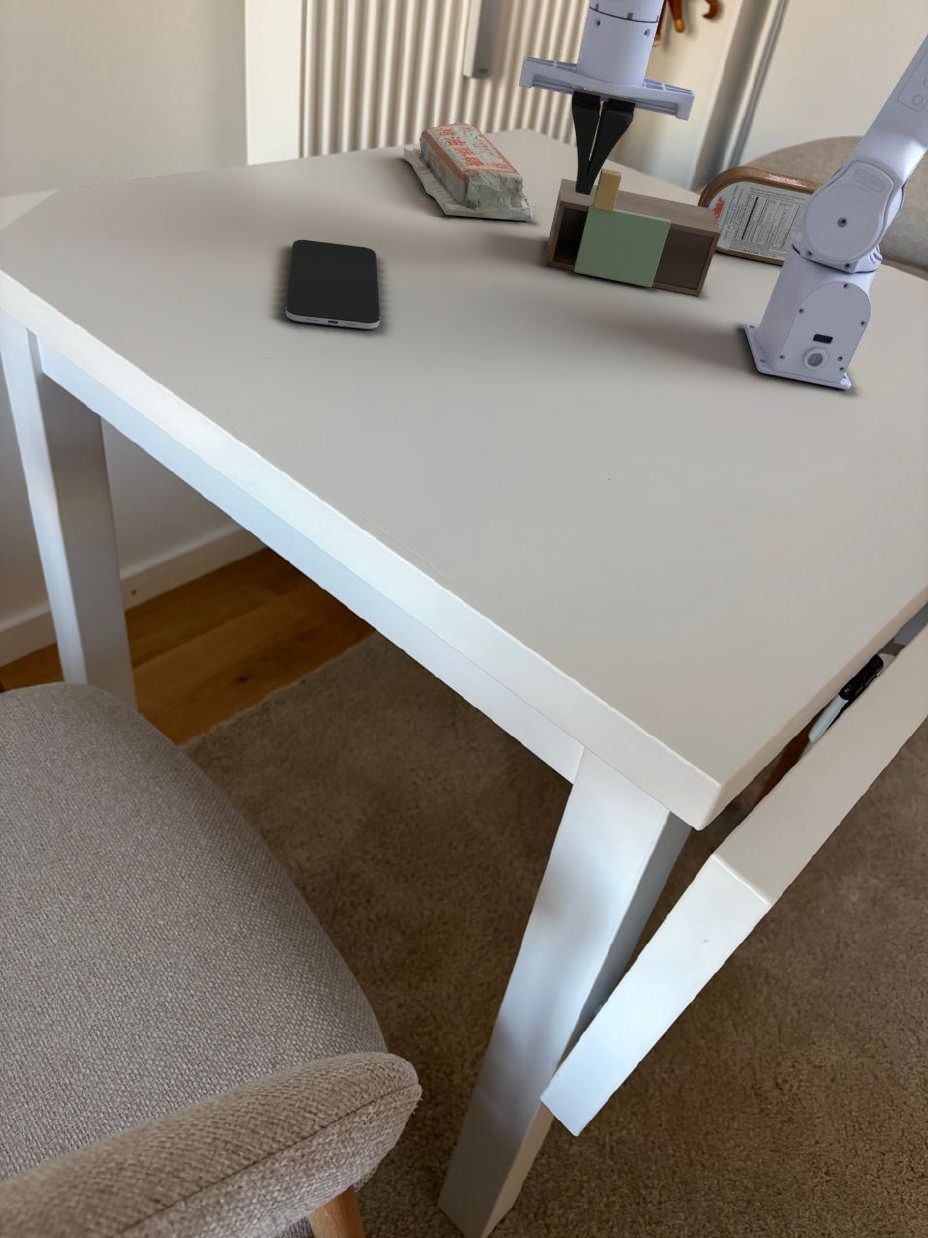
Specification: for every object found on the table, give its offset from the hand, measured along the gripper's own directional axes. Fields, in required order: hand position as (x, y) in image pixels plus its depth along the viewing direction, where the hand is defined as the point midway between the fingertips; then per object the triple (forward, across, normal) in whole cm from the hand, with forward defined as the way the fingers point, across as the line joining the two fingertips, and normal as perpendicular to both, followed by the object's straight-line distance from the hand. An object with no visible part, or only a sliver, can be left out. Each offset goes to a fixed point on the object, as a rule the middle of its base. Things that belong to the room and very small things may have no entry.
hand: (582, 190), depth 83 cm
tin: (+8, -21, -15) cm, 27 cm away
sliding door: (+7, -5, 0) cm, 9 cm away
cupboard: (+7, -6, -4) cm, 10 cm away
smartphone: (+7, +19, +14) cm, 25 cm away
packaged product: (+8, +11, -18) cm, 23 cm away
